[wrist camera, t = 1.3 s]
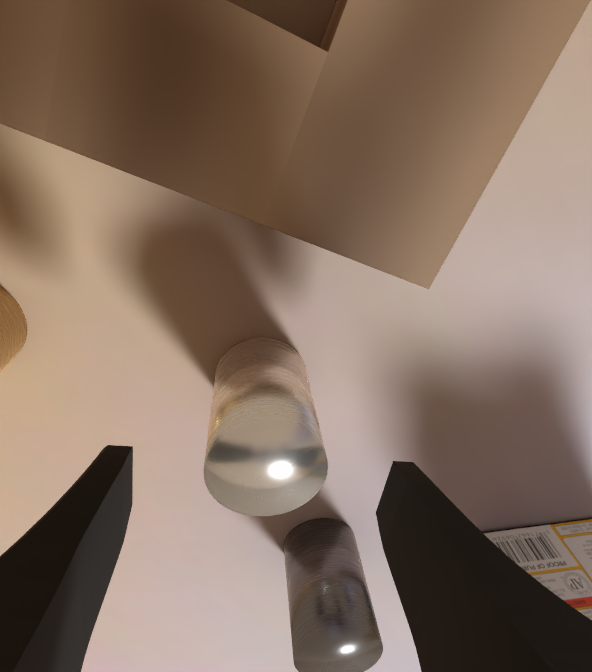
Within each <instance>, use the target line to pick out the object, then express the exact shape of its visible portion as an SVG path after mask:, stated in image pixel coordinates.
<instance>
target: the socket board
mask: <svg viewBox="0 0 592 672" xmlns="http://www.w3.org/2000/svg"><path fill="white" fill-rule="evenodd" d="M589 2H590V0H336V3H335V6H334V9H333V11H332V14H331V17H330V20H329V22H328V25H327V28H326V31H325V33H324V36H323V39H322V42H321V44H320V47H317V46H315V45H313V44H311V43H309V42H307V41H305V40H303V39H301V38H300V37H298V36H296V35H294V34H292V33H290V32H288V31H286V30H284V29H282V28H280V27H278V26H276V25H274V24H272V23H270V22H268V21H267V20H265V19H263V18H261V17H259V16H257V15H255V14H253V13H251V12H249V11H247V10H245V9H243V8H241V7H239V6H237V5H235V4H233V3H232V2H230V1H228V0H0V124H3V125H6V126H8V127H11V128H13V129H16V130H19V131H21V132H24V133H26V134H29V135H31V136H34V137H37V138H39V139H42V140H44V141H47V142H50V143H52V144H55V145H57V146H60V147H63V148H65V149H68V150H70V151H73V152H75V153H78V154H81V155H83V156H86V157H88V158H91V159H94V160H96V161H99V162H101V163H104V164H106V165H109V166H112V167H114V168H117V169H119V170H122V171H125V172H127V173H130V174H132V175H135V176H137V177H140V178H143V179H145V180H148V181H150V182H153V183H156V184H158V185H161V186H163V187H166V188H169V189H171V190H174V191H176V192H179V193H181V194H184V195H187V196H189V197H192V198H194V199H197V200H200V201H202V202H205V203H207V204H210V205H212V206H215V207H218V208H220V209H223V210H225V211H228V212H231V213H233V214H236V215H238V216H241V217H243V218H246V219H249V220H251V221H254V222H256V223H259V224H262V225H264V226H267V227H269V228H272V229H275V230H277V231H280V232H282V233H285V234H287V235H290V236H293V237H295V238H298V239H300V240H303V241H306V242H308V243H311V244H313V245H316V246H318V247H321V248H324V249H326V250H329V251H331V252H334V253H337V254H339V255H342V256H344V257H347V258H349V259H352V260H355V261H357V262H360V263H362V264H365V265H368V266H370V267H373V268H375V269H378V270H381V271H383V272H386V273H388V274H391V275H393V276H396V277H399V278H401V279H404V280H406V281H409V282H412V283H414V284H417V285H419V286H422V287H424V288H427V289H429V288H430V286H431V284H432V282H433V281H434V279H435V277H436V275H437V273H438V272H439V270H440V268H441V266H442V265H443V263H444V261H445V259H446V257H447V256H448V254H449V252H450V250H451V248H452V247H453V245H454V243H455V241H456V240H457V238H458V236H459V234H460V232H461V231H462V229H463V227H464V225H465V223H466V222H467V220H468V218H469V216H470V215H471V213H472V211H473V209H474V207H475V206H476V204H477V202H478V200H479V198H480V197H481V195H482V193H483V191H484V190H485V188H486V186H487V184H488V182H489V181H490V179H491V177H492V175H493V173H494V172H495V170H496V168H497V166H498V165H499V163H500V161H501V159H502V157H503V156H504V154H505V152H506V150H507V148H508V147H509V145H510V143H511V141H512V140H513V138H514V136H515V134H516V132H517V131H518V129H519V127H520V125H521V123H522V122H523V120H524V118H525V116H526V115H527V113H528V111H529V109H530V107H531V106H532V104H533V102H534V100H535V99H536V97H537V95H538V93H539V91H540V90H541V88H542V86H543V84H544V82H545V81H546V79H547V77H548V75H549V74H550V72H551V70H552V68H553V66H554V65H555V63H556V61H557V59H558V57H559V56H560V54H561V52H562V50H563V49H564V47H565V45H566V43H567V41H568V40H569V38H570V36H571V34H572V32H573V31H574V29H575V27H576V25H577V24H578V22H579V20H580V18H581V16H582V15H583V13H584V11H585V9H586V7H587V6H588V4H589Z"/></svg>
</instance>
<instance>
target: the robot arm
mask: <svg viewBox="0 0 592 672" xmlns="http://www.w3.org/2000/svg"><path fill="white" fill-rule="evenodd" d="M132 466H133V447H130V446H113V445H108V446H106V447H105V448H104V449H103V450H102V451H101V452H100V454H99V455H98V456H97V457H96V459H95V460H94V461H93V462H92V464H91V465H90V466H89V467H88V468H87V469H86V471H85V472H84V473H83V474H82V475H81V476H80V478H79V479H78V480H77V481H76V482H75V483H74V484H73V485H72V487H71V488H70V489H69V490H68V491H67V492H66V493H65V494H64V495H63V496H62V497H61V498H60V499H59V500H58V501H57V503H56V504H55V505H54V506H53V507H52V508H51V509H50V510H49V511H48V512H47V513H46V514H45V515H44V516H43V517H42V518H41V519H40V520H39V521H38V522H37V523H36V524H35V525H33V526H32V527H31V528H30V529H29V530H28V531H27V532H26V533H25V534H24V535H23V536H22V537H21V538H20V539H19V540H18V541H17V542H16V543H15V544H13V545H12V546H11V547H10V548H9V549H8V550H7V551H6V552H4V553H3V554H2V555H1V556H0V672H81V669H82V665H83V661H84V657H85V654H86V650H87V647H88V644H89V641H90V637H91V634H92V631H93V628H94V625H95V623H96V620H97V617H98V614H99V611H100V608H101V605H102V603H103V600H104V597H105V594H106V591H107V588H108V585H109V583H110V580H111V577H112V574H113V571H114V568H115V565H116V562H117V560H118V557H119V554H120V551H121V548H122V545H123V542H124V537H125V533H126V529H127V525H128V520H129V516H130V512H131V507H132ZM376 515H377V521H378V526H379V531H380V536H381V540H382V545H383V549H384V552H385V555H386V558H387V561H388V564H389V567H390V571H391V574H392V577H393V580H394V582H395V585H396V588H397V591H398V594H399V597H400V600H401V603H402V606H403V609H404V612H405V615H406V618H407V621H408V624H409V627H410V630H411V633H412V636H413V640H414V643H415V646H416V650H417V654H418V658H419V662H420V667H421V671H422V672H592V620H591V619H589V618H588V617H586V616H585V615H583V614H582V613H580V612H579V611H578V610H576V609H575V608H573V607H572V606H571V605H569V604H568V603H567V602H565V601H564V600H562V599H561V598H560V597H558V596H557V595H555V594H554V593H553V592H552V591H550V590H549V589H548V588H546V587H545V586H544V585H542V584H541V583H540V582H539V581H537V580H536V579H535V578H534V577H532V576H531V575H530V574H529V573H528V572H526V571H525V570H524V569H523V568H521V567H520V566H519V565H518V564H517V563H515V562H514V561H513V560H512V559H511V558H510V557H508V556H507V555H506V554H505V553H504V552H503V551H502V550H500V549H499V548H498V547H497V546H496V545H495V544H494V543H493V542H492V541H491V540H490V539H489V538H487V537H486V536H485V535H484V534H483V533H482V532H481V531H480V530H479V529H478V528H477V527H476V526H475V525H474V524H473V523H472V522H471V521H470V520H469V519H468V518H467V517H466V516H465V515H464V514H463V513H462V512H461V511H460V510H459V509H458V508H457V507H456V506H455V505H454V504H453V503H452V502H451V501H450V500H449V499H448V498H447V497H446V496H445V495H444V494H443V493H442V492H441V491H440V490H439V488H438V487H437V486H436V485H435V484H434V483H433V482H432V481H431V480H430V479H429V478H428V477H427V476H426V475H425V474H424V473H423V472H422V471H421V470H420V469H419V468H418V467H417V466H416V465H415V464H414V463H413V462H397V461H393V464H392V466H391V469H390V472H389V475H388V478H387V481H386V484H385V487H384V490H383V493H382V496H381V499H380V502H379V505H378V508H377V511H376Z"/></svg>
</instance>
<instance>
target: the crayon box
mask: <svg viewBox="0 0 592 672" xmlns="http://www.w3.org/2000/svg"><path fill="white" fill-rule="evenodd" d="M483 534H484V535H485V536H486V537H487V538H489V539H490V540H491V541H492V542H493V543H494V544H495V545H496V546H497V547H498V548H499V549H500V550H502V551H503V552H504V553H505V554H506V555H507V556H508V557H510V558H511V559H512V560H513V561H514V562H515V563H517V564H518V565H519V566H520V567H521V568H523V569H524V570H525V571H526V572H528V573H529V574H530V575H531V576H532V577H534V578H535V579H536V580H537V581H539V582H540V583H541V584H542V585H544V586H545V587H546V588H548V589H549V590H550V591H552V592H553V593H554V594H555V595H557V596H558V597H560V598H561V599H562V600H564V601H565V602H567V603H568V604H569V605H571V606H572V607H573V608H575V609H576V610H578V611H579V612H580V613H582V614H583V615H585V616H586V617H588V618H589V619H591V620H592V518H591V519H588V520H581V521H574V522H566V523H558V524H553V525H542V526H534V527H527V528H519V529H512V530H504V531H496V532H489V533H483Z"/></svg>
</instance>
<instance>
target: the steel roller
mask: <svg viewBox="0 0 592 672" xmlns="http://www.w3.org/2000/svg"><path fill="white" fill-rule="evenodd" d="M327 470H328V462H327V457H326V453H325V449H324V444H323V440H322V436H321V432H320V427H319V423H318V419H317V415H316V410H315V406H314V402H313V397H312V393H311V389H310V385H309V380H308V376H307V372H306V368H305V364H304V362H303V360H302V358H301V356H300V355H299V354H298V353H297V351H295V350H294V349H293V348H292V347H291V346H289V345H288V344H286V343H284V342H282V341H279V340H276V339H272V338H253V339H248V340H245V341H242V342H240V343H238V344H236V345H234V346H233V347H231V348H230V349H229V350H228V351H227V352H226V353H225V354H224V355H223V356H222V358H221V359H220V361H219V363H218V365H217V368H216V373H215V382H214V390H213V398H212V407H211V415H210V423H209V432H208V440H207V449H206V457H205V465H204V479H205V483H206V486H207V488H208V490H209V492H210V493H211V495H212V496H213V497H214V498H215V499H216V500H217V501H218V502H219V503H220V504H222V505H223V506H225V507H226V508H228V509H230V510H232V511H235V512H238V513H241V514H245V515H251V516H273V515H279V514H283V513H286V512H289V511H292V510H294V509H297V508H298V507H300V506H302V505H304V504H305V503H307V502H308V501H309V500H311V499H312V498H313V497H314V496H315V495H316V494H317V493H318V491H319V490H320V489H321V487H322V485H323V483H324V481H325V479H326V476H327Z"/></svg>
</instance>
